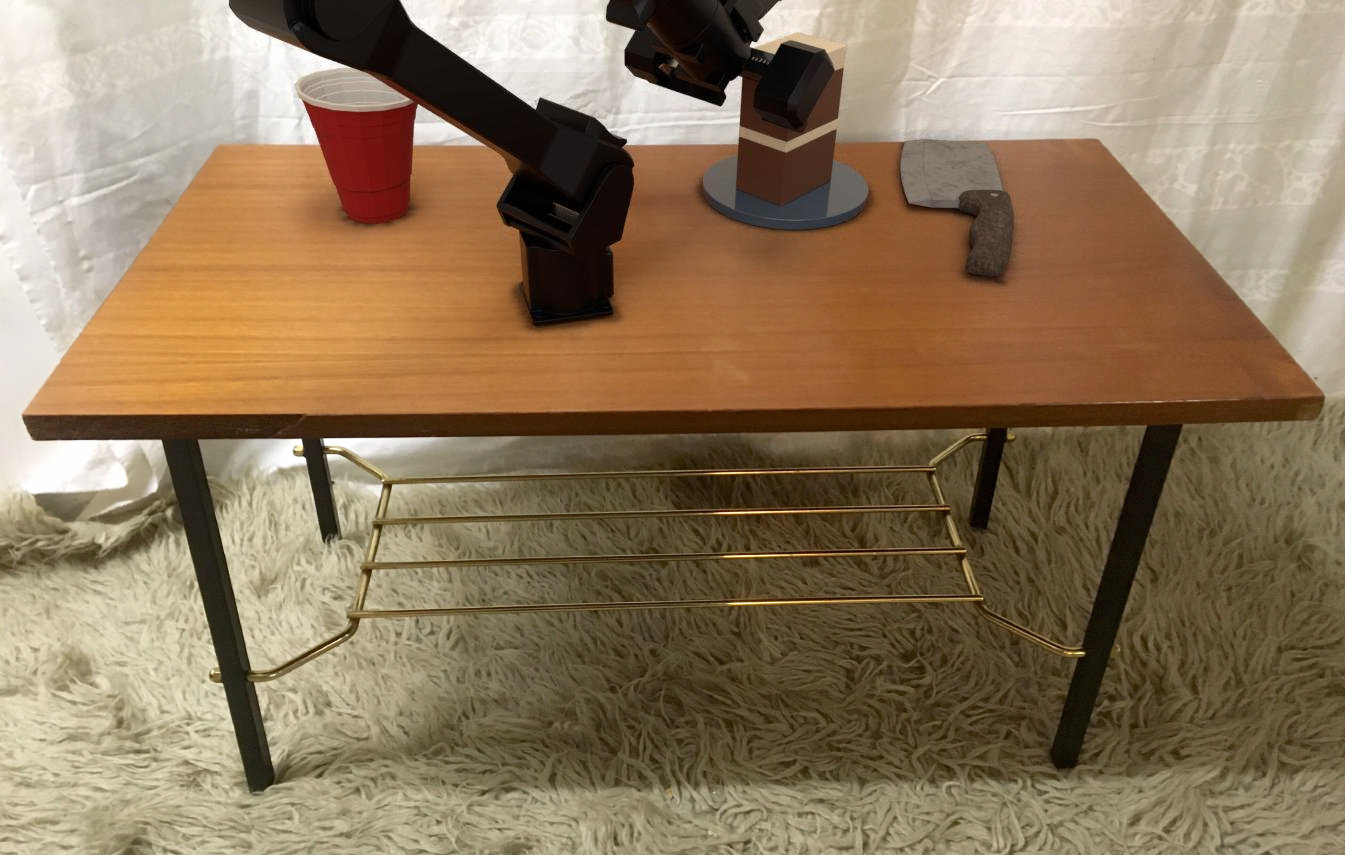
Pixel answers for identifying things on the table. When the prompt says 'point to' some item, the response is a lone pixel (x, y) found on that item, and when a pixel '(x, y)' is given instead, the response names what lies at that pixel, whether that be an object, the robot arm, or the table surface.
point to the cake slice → (789, 137)
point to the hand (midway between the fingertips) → (762, 114)
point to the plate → (804, 212)
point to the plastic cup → (362, 140)
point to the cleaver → (963, 194)
